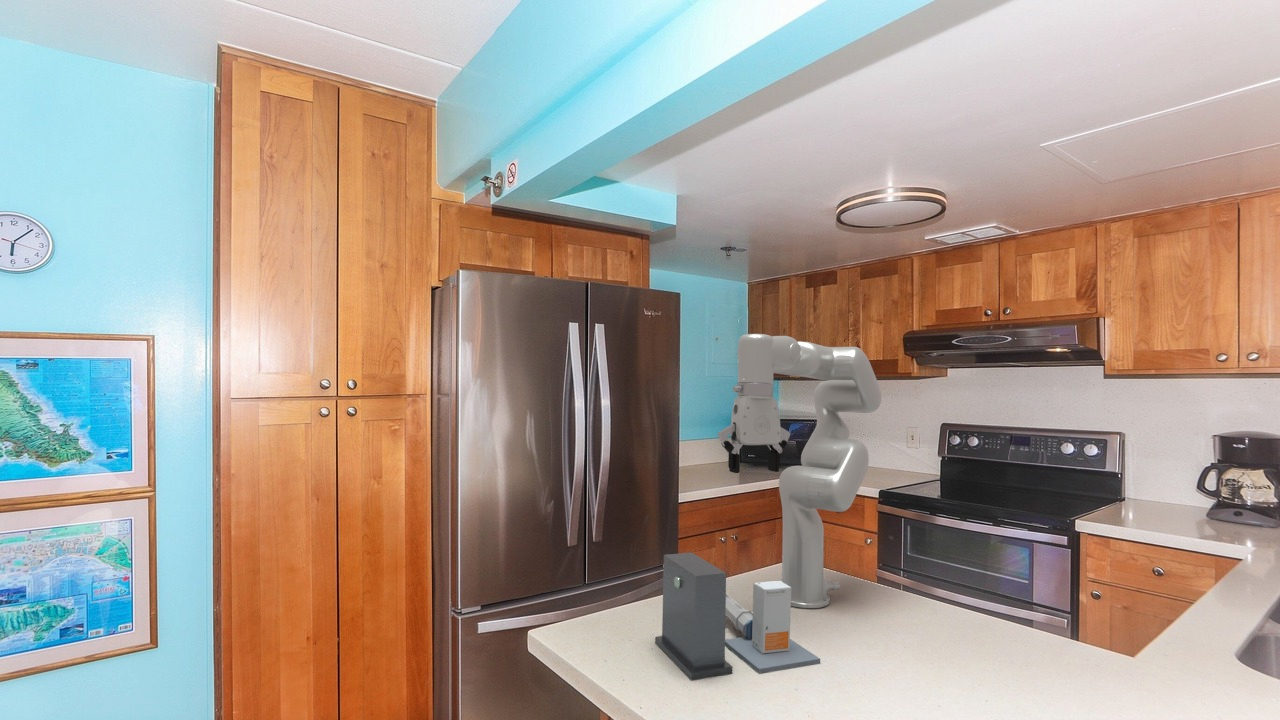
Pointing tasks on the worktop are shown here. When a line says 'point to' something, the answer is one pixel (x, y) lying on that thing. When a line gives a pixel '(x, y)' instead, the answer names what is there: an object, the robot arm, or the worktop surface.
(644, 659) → the worktop surface
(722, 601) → the mounted unit
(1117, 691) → the worktop surface
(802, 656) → the slate mat
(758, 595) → the skincare box
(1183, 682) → the worktop surface
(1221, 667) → the worktop surface
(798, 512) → the robot arm
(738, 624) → the white elongated piece
